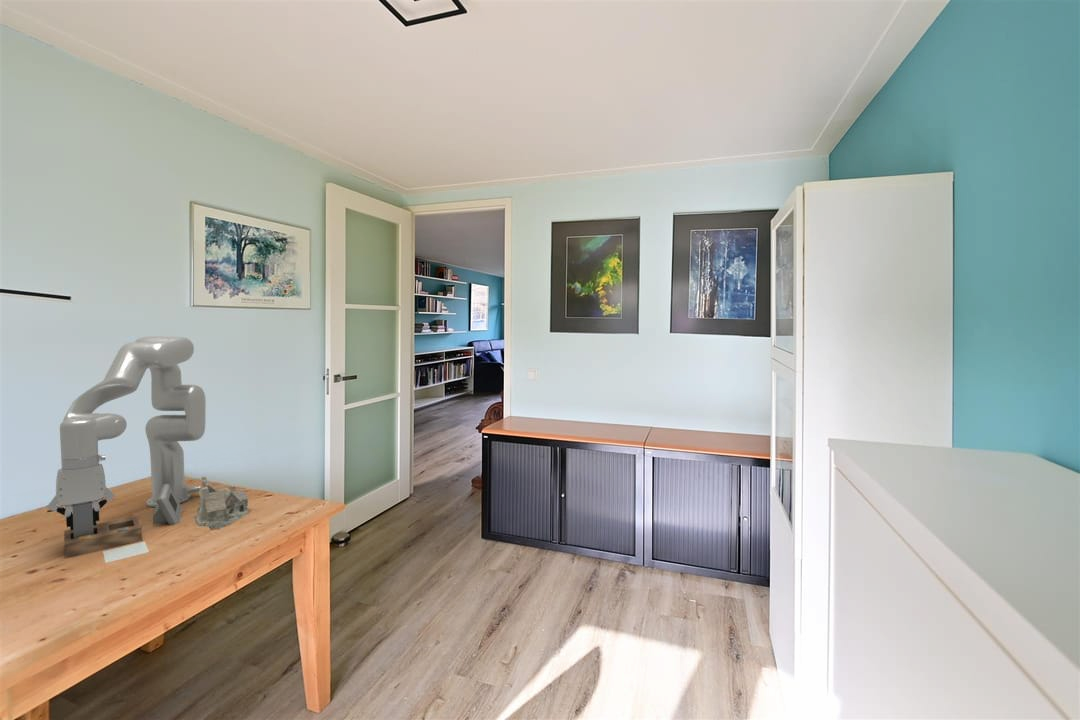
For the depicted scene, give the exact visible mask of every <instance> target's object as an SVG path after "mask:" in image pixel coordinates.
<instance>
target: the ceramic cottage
mask: <svg viewBox="0 0 1080 720" xmlns="http://www.w3.org/2000/svg"><path fill="white" fill-rule="evenodd" d="M201 486H202V487H201V489H200V490H199V491H198V495H199V498H200V499H199V500H200V502H199V505H198V506H197V514H196V515H195V517H193V518H194V520H195V522H194V523H195V524H196V526H198V527H208V528H209V529H210V530H217V529H221V528H223V527H227V526H229V525H231V524H233V523H235V522H236V521H238V519H239V520H240V519H242V518H244V517H245V515H246V514H247V515H249V514H250V510H249V508H248V506H249V504H248V503H249V499H248V496H247V491H246V489H242V490H237V491H236V485H235V484H233V485H230V489H229V488H227V487H224V488H219V489H217V488H216V487H214V486H213V485H211V484H209V482H208V479H207V477H206V475H204V476H202V477H201ZM248 513H249V514H248ZM247 515H246V516H247ZM243 516H244V517H243ZM241 517H242V518H241Z"/></svg>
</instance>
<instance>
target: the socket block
mask: <svg viewBox="0 0 1080 720" xmlns="http://www.w3.org/2000/svg"><path fill="white" fill-rule="evenodd" d="M93 530H94V534H93V535H86V536H81V537H79V538H75V539H74V530H70V529H64V531H63V532H64V533H63V536H64V537H63V540H64V545H63V546H64V559H69V558H73V557H77V556H82V555H85V554H89V553H90V554H91V553H95V552H98V551H105V550H109V549H111V548H112V549H113V548H117V547H122V546H126V545H130V544H134V543H139V542H143V532H142V531H143V530H142V525H141V523H140V521H139V518H138V516H137V515H135V516H129V517H125V518H120V519H119V518H118V519H114V520H109V521H105V522H100V523H96V525H95V526H94V525H93Z"/></svg>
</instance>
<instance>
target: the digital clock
mask: <svg viewBox="0 0 1080 720" xmlns="http://www.w3.org/2000/svg"><path fill="white" fill-rule="evenodd" d="M156 502H157V504H158V505H156V507H154V511H153V514H152V525H157V524H164V523H165V524H166V523H168V525H170V526H174V525H178V524H180V522H181V519H182V516H183V515H182V514H183V506H182V504H181V503H179V501H178V499H177V498H176V496H175V494H174V492H173V490H172V488H171V487H170V485H169V484H165V485H163V486H162V487H161V488H160V491H159V494H158V497H157V500H156Z"/></svg>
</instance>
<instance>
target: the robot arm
mask: <svg viewBox="0 0 1080 720" xmlns="http://www.w3.org/2000/svg"><path fill="white" fill-rule="evenodd" d="M194 350H195V347H194V344H193V342H192V340H191V339H189V338H187V337H185V336H184V337H183V336H144V337H140V338H137V339H136V340H135V341H133V342H127V343H125V344H123V345H122V346H120V349H118V352H117V354H116V356H115V357H114V359H113V361H112V364H111V365H110V367H109V369H108V371H107V373H106V375H105V377H104V378H103V380H102V381H100V382H98V383H97V384H95V385H93V386H92V387H90V388H89V389H87V390H85V392H83V393H81V394H80V395H79V396H77V398H75V399H74V401H73V402H72V403H71V404H70V406H69V408H68V410H67V412H66V414H65V416H64V418H63V421H62V422H61V423H60V424H59V438H60V439H59V442H60V458H61V459H60V460H61V462H60V463H61V468H59V469H57V473H56V480H55V495H54V497H53V498H52V500H50V502H49V503H48V505H47V506H46V509H47V510H50V511H52V512H56V513H58V514H61V515H63V516H64V517H65V521H66V522H65V525H66V528H70V529H69V530H73V509H72V506H73V505H76V504H81V503H87V502H92V508H93V525H94V526H95V525H96V524H97V522H100V510H101V509H102V508H103V507H104V506H106V504H108V502H110V501H112V500H114V499H115V497H116V494H114V492H113V491H111V489H109V488H108V487H107V484H106V473H105V469H104V466H103V463H100V462H102V461H106V455H100V454H99V441H102V440H110V439H111V440H112V439H115V438H117V437H120V436H121V435H122V434H123V433H124V432H125V431H126V428H127V426H128V425H127V421H126V418H125V417H124V416H122V415H120V414H118V413H109V412H108V413H98V412H97V413H96V412H95V411H96V410H97V409H98V408H99V407H101V406H103V405H104V404H106V403H108V402H111V401H113V400H117V399H120V398H122V397H125V396H128V395H130V394H133V393H135V392H136V391H137V390H138V387H139V386H140V383H141V381H142V379H143V377H144V375H145V372H146V371H147V369H149V370H150V379H151V383H150V384H151V387H150V388H151V392H150V393H151V394H150V395H151V396H150V397H151V400H150V401H151V405H152V407H153V409H155V411H160V412H184V413H185V414H160V415H156V416H153V417H150V419H149V420H148V421H147V422H146V424H145V426H144V427H145V428H144V429H145V435H146V439H147V443H148V445H149V446H148V447H149V452H150V453H149V455H150V457H149V458H150V473H151V474H150V477H151V498H148V499H147V500H146V506H148V507H150V508H151V507H152V508H155V507H156V505H158V504H157V502H156V500H157V497H158V494H159V491H160V488H161V487H162V486H163V485H165V484H169V485H170V487H171V488H172V490H173V492H174V494H175V496H176V498H177V499H178V501H179V503H180V504H181V503H185V502H187V501H189V500H190V499H191V493H197V492H198V493H199V490H200V489H201V488H202V487H201V485H198V486H196V485H192V486H187V485H186V483H185V482H186V481H185V480H186V479H185V458H184V457H185V452H184V449H183V447H182V445H181V444H180V442H195V441H198V440H200V439H201V438H203V436H204V434H205V430H206V404H207V403H206V393H205V392H204V390H203V388H202V387H200V386H199V385H196V384H182V372H181V368H180V366H179V364H181V363H184V362H186V361H189V360H190V359H191V358H192V356H193V354H194ZM93 412H95V413H93Z"/></svg>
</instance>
